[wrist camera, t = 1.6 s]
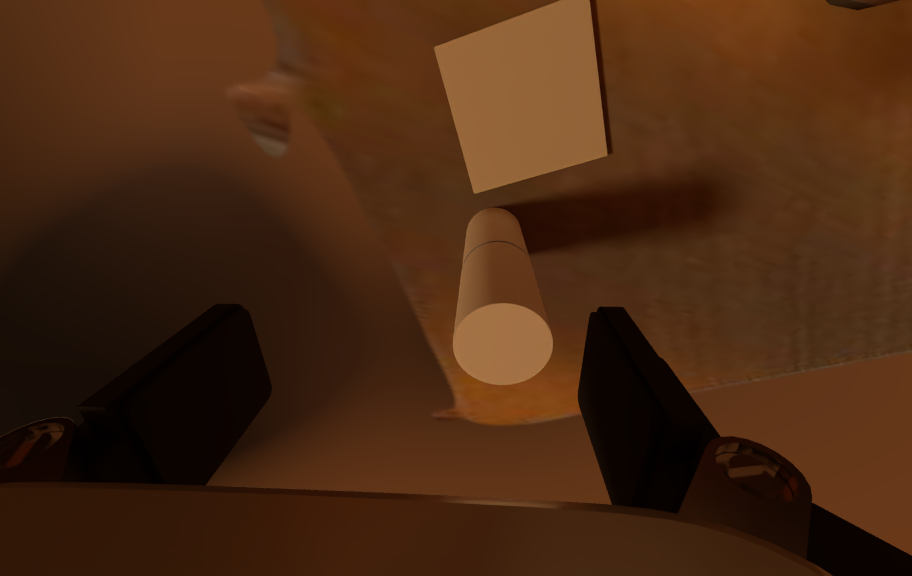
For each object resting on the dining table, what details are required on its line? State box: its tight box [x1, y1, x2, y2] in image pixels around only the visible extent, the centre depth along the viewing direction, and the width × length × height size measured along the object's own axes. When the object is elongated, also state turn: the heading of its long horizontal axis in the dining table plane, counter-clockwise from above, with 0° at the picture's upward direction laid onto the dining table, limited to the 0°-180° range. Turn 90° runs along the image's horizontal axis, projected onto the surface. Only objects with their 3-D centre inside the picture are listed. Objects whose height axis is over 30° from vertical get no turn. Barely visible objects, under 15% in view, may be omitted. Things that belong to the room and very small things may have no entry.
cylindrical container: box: [453, 208, 553, 385], centre depth 38 cm, size 7×7×25 cm
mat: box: [434, 0, 608, 194], centre depth 41 cm, size 16×16×1 cm
